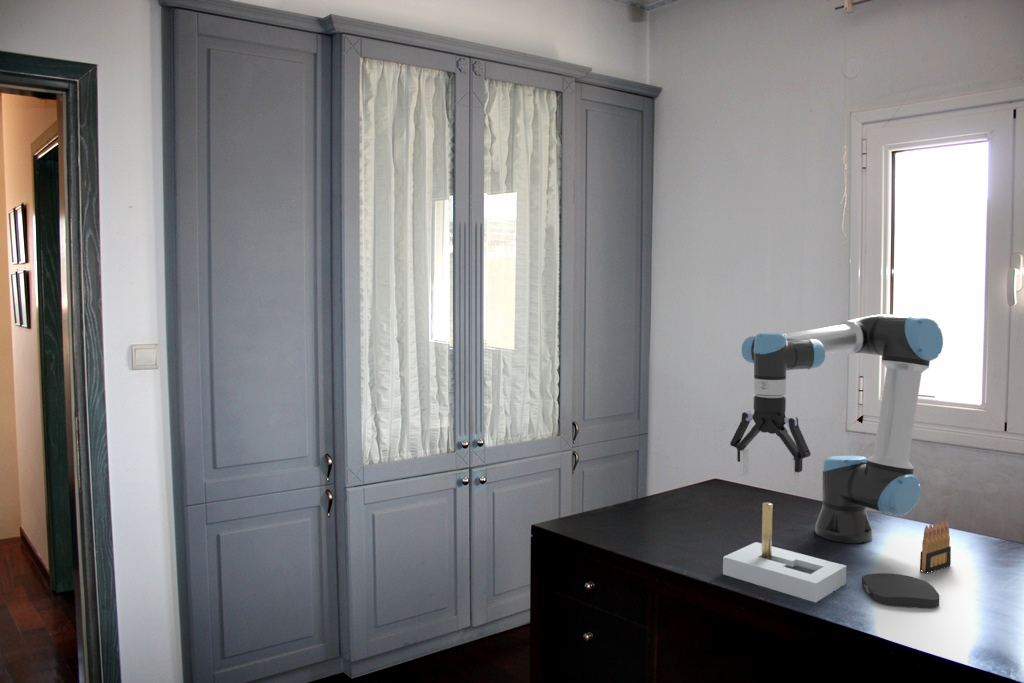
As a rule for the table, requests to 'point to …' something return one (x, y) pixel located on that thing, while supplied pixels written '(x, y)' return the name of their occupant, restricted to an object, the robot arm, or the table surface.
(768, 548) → the brass peg
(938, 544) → the ammunition clip
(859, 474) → the robot arm
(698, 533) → the table surface
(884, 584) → the media streaming box
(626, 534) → the table surface
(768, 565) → the keyhole plate
